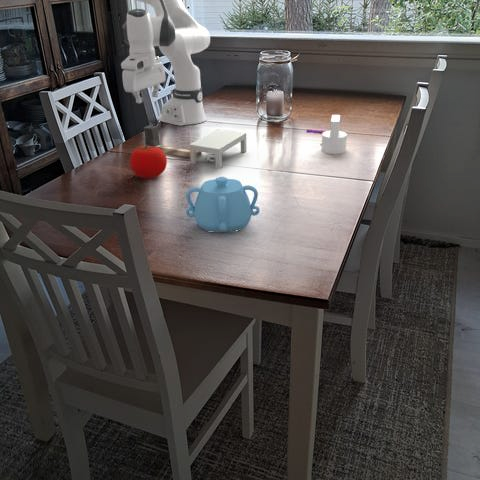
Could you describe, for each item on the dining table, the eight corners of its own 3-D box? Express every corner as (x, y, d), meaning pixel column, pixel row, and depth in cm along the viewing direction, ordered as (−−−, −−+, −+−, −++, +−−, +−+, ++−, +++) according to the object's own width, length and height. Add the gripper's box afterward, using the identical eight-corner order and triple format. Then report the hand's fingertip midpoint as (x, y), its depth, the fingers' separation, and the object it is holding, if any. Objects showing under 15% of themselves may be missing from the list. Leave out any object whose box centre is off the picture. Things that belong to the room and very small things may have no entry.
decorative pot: (228, 206, 151) (226, 163, 145) (265, 225, 140) (265, 178, 134) (182, 223, 142) (178, 178, 136) (218, 244, 131) (215, 196, 125)
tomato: (129, 173, 176) (125, 143, 171) (163, 167, 180) (161, 138, 175) (135, 184, 167) (131, 154, 162) (171, 179, 171) (168, 148, 166)
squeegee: (314, 120, 223) (337, 122, 220) (313, 124, 224) (336, 126, 221) (297, 141, 200) (323, 144, 197) (297, 145, 201) (322, 148, 198)
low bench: (190, 163, 183) (189, 144, 180) (219, 146, 198) (218, 128, 195) (219, 168, 178) (219, 149, 175) (246, 151, 193) (246, 132, 190)
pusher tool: (144, 151, 195) (141, 128, 191) (153, 147, 200) (151, 124, 195) (193, 160, 186) (191, 136, 182) (201, 155, 190) (200, 131, 186)
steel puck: (204, 162, 184) (204, 158, 184) (211, 158, 188) (211, 153, 188) (216, 164, 182) (216, 160, 182) (223, 159, 186) (223, 155, 186)
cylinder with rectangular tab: (345, 154, 188) (348, 122, 182) (320, 153, 190) (322, 121, 184) (345, 146, 196) (348, 115, 190) (322, 145, 197) (323, 114, 192)
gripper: (153, 54, 190) (157, 92, 197) (117, 64, 174) (122, 105, 181) (167, 55, 187) (171, 94, 194) (132, 65, 172) (137, 107, 178)
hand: (147, 99), depth 187 cm, fingers open, 8 cm apart
